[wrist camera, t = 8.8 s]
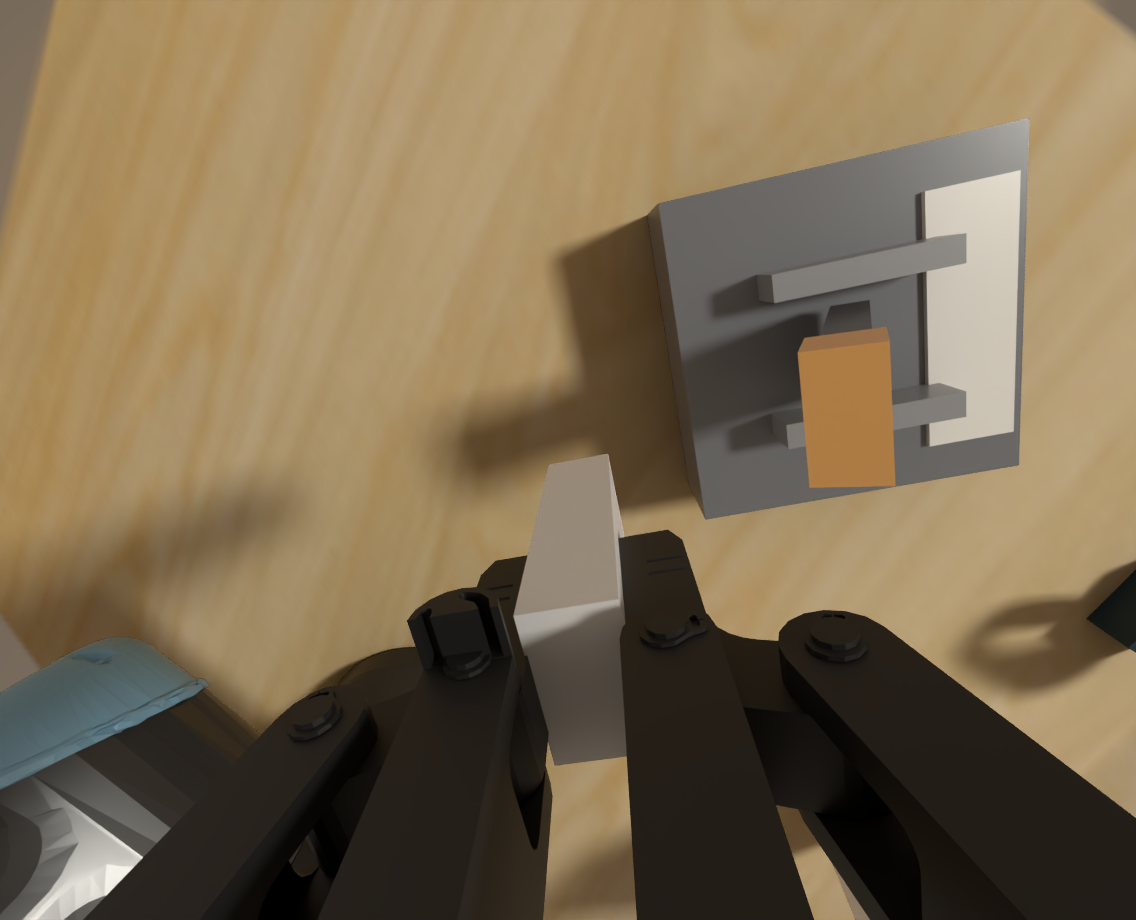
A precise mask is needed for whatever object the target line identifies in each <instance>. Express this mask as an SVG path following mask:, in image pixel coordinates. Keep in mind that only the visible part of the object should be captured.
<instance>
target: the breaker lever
mask: <svg viewBox="0 0 1136 920" xmlns="http://www.w3.org/2000/svg"><path fill="white" fill-rule="evenodd" d="M798 362H799V373H800V385H801V396H802V408H803V419H804V431H805V442H806V453H807V465H808V476H809V488H824V487H875V486H895V461H894V435H893V410H892V384H891V358H890V339H889V335H888V330H887V327H881V328H874V329H872V322H871V311H870V300H866V301H860V302H853V303H847V304H840V305H834V306H830V308H829V311H828V314H827V317H826V320H825V323H824V326H823V329H822V332H821V334H820V336H815V337H807V338H804V340H803V342H802V344H801V346H800V348H799V351H798Z"/></svg>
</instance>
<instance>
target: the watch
mask: <svg viewBox="0 0 1136 920" xmlns="http://www.w3.org/2000/svg"><path fill="white" fill-rule="evenodd" d="M1087 620H1089V621H1090V622H1092V623H1093V624H1095V625H1096V626H1097V627H1099V628H1100V629H1102V630H1103V631H1105V632H1106V633H1107V634H1109V635H1110V636H1112V637H1113V638H1115V639H1116V640H1117V641H1119V642H1120V643H1122V644H1123V645H1125V646H1126V647H1128V648H1129V649H1131V650H1133V651H1134V652H1136V570H1135V571H1134V572H1133V573H1132V574H1131V575H1130V576H1129V577H1128V578H1127V579H1126V580H1125V581H1124V582H1123V583H1122V584H1121V585H1120V586H1119V587H1118V588H1117V589H1116V590H1115V591H1114V592H1113V593H1112V594H1111V595H1110V596H1109V597H1108V598H1107V599H1106V600H1105V601H1104V602H1103V603H1102V604H1101V605H1100V606H1099V607H1098V608H1097V609H1096V610H1095V611H1094V612H1093V613H1092V614H1091V615H1090V616H1089V617H1088V618H1087Z"/></svg>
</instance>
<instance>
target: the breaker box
mask: <svg viewBox="0 0 1136 920" xmlns="http://www.w3.org/2000/svg"><path fill="white" fill-rule="evenodd" d="M1028 150H1029V118H1027V119H1023V120H1018V121H1014V122H1010V123H1005V124H1001V125H997V126H992V127H988V128H984V129H979V130H975V131H971V132H966V133H962V134H957V135H953V136H949V137H944V138H940V139H936V140H931V141H927V142H923V143H918V144H914V145H910V146H905V147H901V148H897V149H892V150H888V151H884V152H879V153H875V154H871V155H866V156H862V157H858V158H853V159H849V160H845V161H840V162H836V163H832V164H827V165H823V166H819V167H814V168H810V169H806V170H801V171H797V172H793V173H788V174H784V175H780V176H775V177H771V178H767V179H762V180H758V181H754V182H749V183H745V184H741V185H736V186H732V187H728V188H723V189H719V190H715V191H710V192H706V193H702V194H697V195H693V196H689V197H684V198H680V199H676V200H671V201H667V202H663V203H658V204H657V205H656V206H655V207H654V208H653V209H652V210H651V212H650V213H649V214H648V215H647V219H648V226H649V232H650V238H651V245H652V251H653V258H654V264H655V271H656V277H657V283H658V290H659V296H660V303H661V309H662V316H663V322H664V328H665V335H666V341H667V348H668V354H669V360H670V367H671V373H672V380H673V386H674V393H675V399H676V405H677V412H678V418H679V425H680V431H681V437H682V444H683V450H684V457H685V463H686V470H687V476H688V482H689V485H690V487H691V489H692V492H693V494H694V496H695V498H696V500H697V502H698V505H699V507H700V509H701V511H702V513H703V515H704V518H705V520H706V519H712V518H717V517H723V516H729V515H735V514H740V513H746V512H752V511H758V510H764V509H769V508H775V507H781V506H787V505H792V504H798V503H804V502H810V501H815V500H821V499H827V498H833V497H838V496H844V495H850V494H856V493H861V492H867V491H873V490H879V489H884V488H890V487H896V486H902V485H908V484H913V483H919V482H925V481H931V480H936V479H942V478H948V477H954V476H959V475H965V474H971V473H977V472H982V471H988V470H994V469H1000V468H1005V467H1011V466H1017V465H1019V443H1020V410H1021V378H1022V345H1023V313H1024V280H1025V248H1026V215H1027V182H1028ZM866 300H870V311H871V322H872V329H874V328H881V327H887V330H888V335H889V339H890V358H891V384H892V410H893V435H894V461H895V486H875V487H824V488H809V476H808V465H807V453H806V442H805V431H804V419H803V408H802V396H801V385H800V373H799V362H798V351H799V348H800V346H801V344H802V342H803V340H804V338H807V337H815V336H820V334H821V332H822V329H823V326H824V323H825V320H826V317H827V314H828V311H829V308H830V306H834V305H840V304H847V303H853V302H860V301H866Z"/></svg>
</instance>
